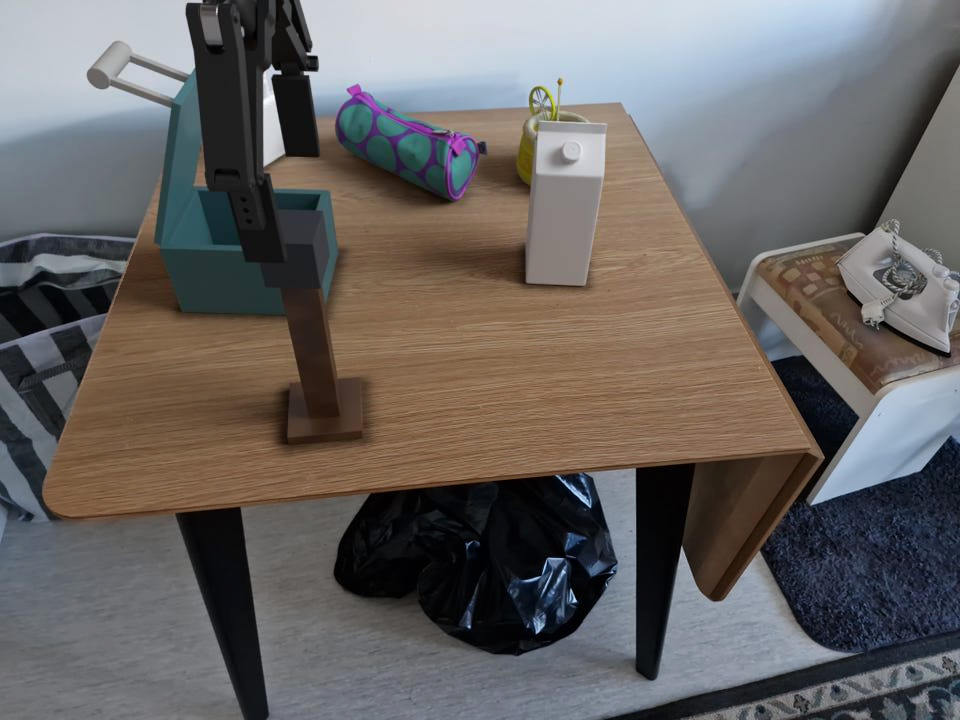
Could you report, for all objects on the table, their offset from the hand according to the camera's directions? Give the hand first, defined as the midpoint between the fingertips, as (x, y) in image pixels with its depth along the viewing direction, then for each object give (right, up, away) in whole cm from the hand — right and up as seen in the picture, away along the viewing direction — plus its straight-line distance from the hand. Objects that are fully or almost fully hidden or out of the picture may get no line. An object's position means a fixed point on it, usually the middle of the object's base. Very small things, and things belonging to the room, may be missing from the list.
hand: (286, 203), depth 54 cm
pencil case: (+4, +14, +48) cm, 51 cm away
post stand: (-1, -17, +17) cm, 24 cm away
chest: (-11, -2, +31) cm, 33 cm away
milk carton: (+24, -1, +35) cm, 42 cm away
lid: (-15, +10, +19) cm, 26 cm away
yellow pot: (+25, +15, +49) cm, 57 cm away
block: (0, -5, +5) cm, 6 cm away
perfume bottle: (-15, +18, +51) cm, 56 cm away
